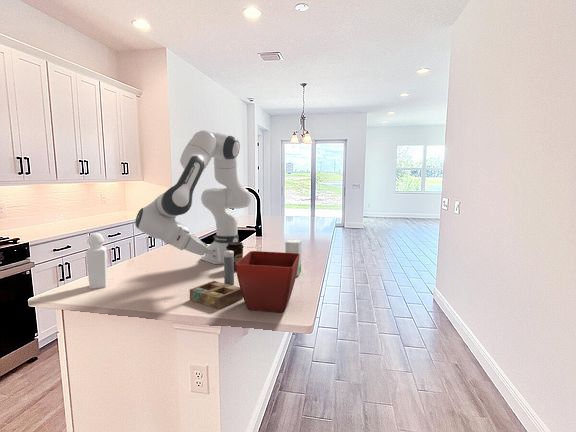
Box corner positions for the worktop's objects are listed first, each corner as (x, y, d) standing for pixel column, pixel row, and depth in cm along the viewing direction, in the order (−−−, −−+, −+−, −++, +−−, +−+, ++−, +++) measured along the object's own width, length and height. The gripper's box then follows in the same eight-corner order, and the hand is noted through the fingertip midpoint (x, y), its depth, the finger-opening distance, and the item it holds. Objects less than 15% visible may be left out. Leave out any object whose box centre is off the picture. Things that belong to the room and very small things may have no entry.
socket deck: (189, 300, 118) (188, 288, 117) (214, 290, 128) (213, 280, 127) (218, 309, 110) (218, 297, 109) (242, 298, 120) (242, 287, 119)
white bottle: (90, 284, 134) (87, 232, 131) (108, 282, 136) (105, 231, 134) (88, 289, 128) (84, 234, 125) (107, 287, 130) (103, 233, 128)
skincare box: (298, 276, 147) (299, 243, 145) (284, 275, 148) (284, 242, 146) (301, 271, 155) (301, 239, 153) (288, 270, 156) (288, 238, 154)
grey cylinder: (222, 284, 135) (221, 251, 134) (229, 282, 138) (228, 250, 137) (229, 286, 133) (228, 253, 131) (236, 283, 136) (235, 251, 135)
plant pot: (292, 318, 103) (292, 266, 101) (234, 313, 107) (234, 263, 105) (299, 296, 122) (300, 253, 120) (250, 293, 125) (250, 250, 123)
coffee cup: (247, 267, 160) (247, 242, 159) (239, 272, 152) (239, 245, 151) (231, 266, 163) (231, 240, 162) (223, 270, 155) (222, 244, 154)
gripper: (169, 236, 132) (199, 249, 139) (179, 250, 114) (212, 264, 121) (177, 222, 132) (206, 236, 139) (188, 234, 115) (221, 249, 122)
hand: (209, 249), depth 130 cm, fingers open, 8 cm apart
